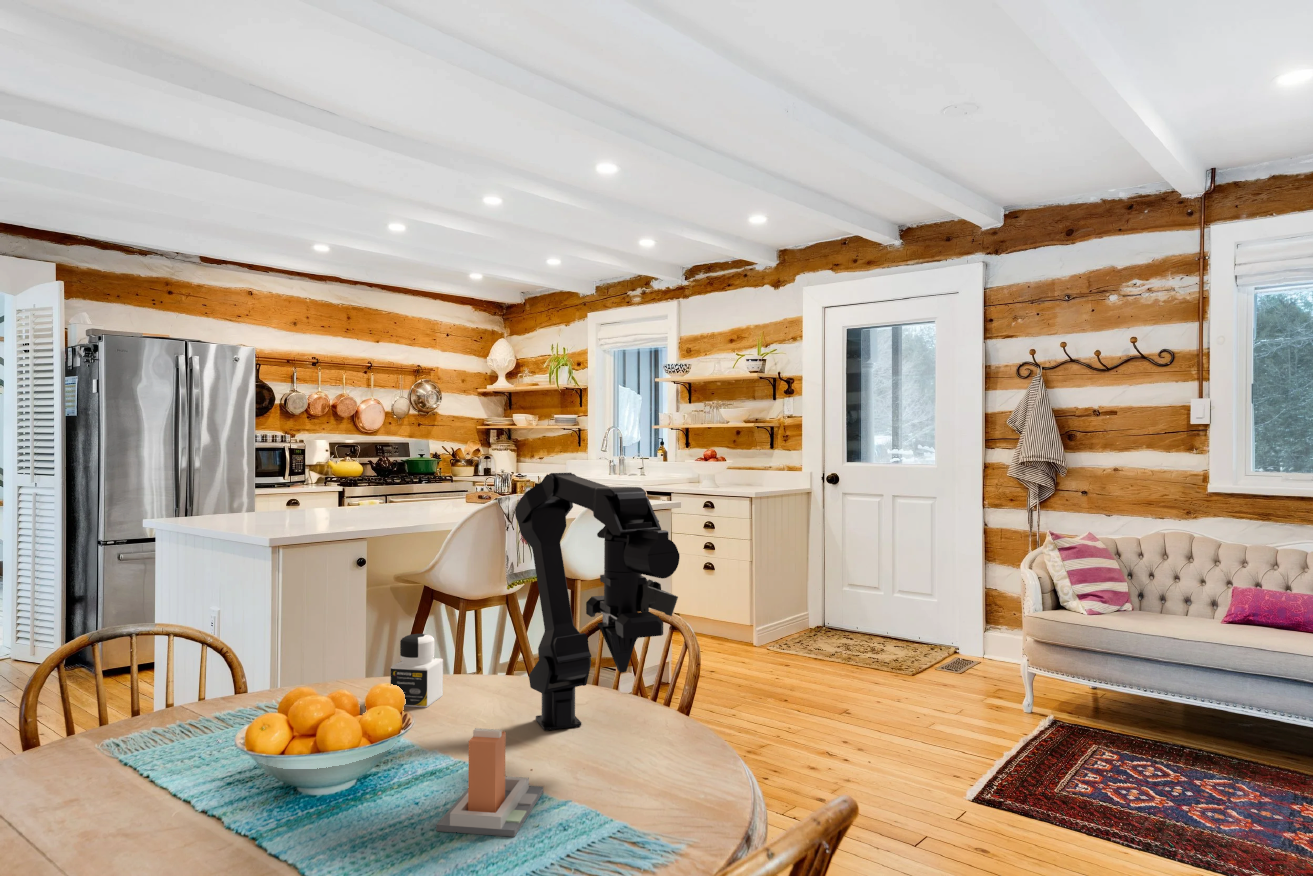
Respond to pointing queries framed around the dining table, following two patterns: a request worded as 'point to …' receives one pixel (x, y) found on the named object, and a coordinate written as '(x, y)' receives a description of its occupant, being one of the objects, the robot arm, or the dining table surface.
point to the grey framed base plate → (500, 823)
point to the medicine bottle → (418, 671)
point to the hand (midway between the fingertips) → (622, 671)
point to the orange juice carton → (486, 770)
